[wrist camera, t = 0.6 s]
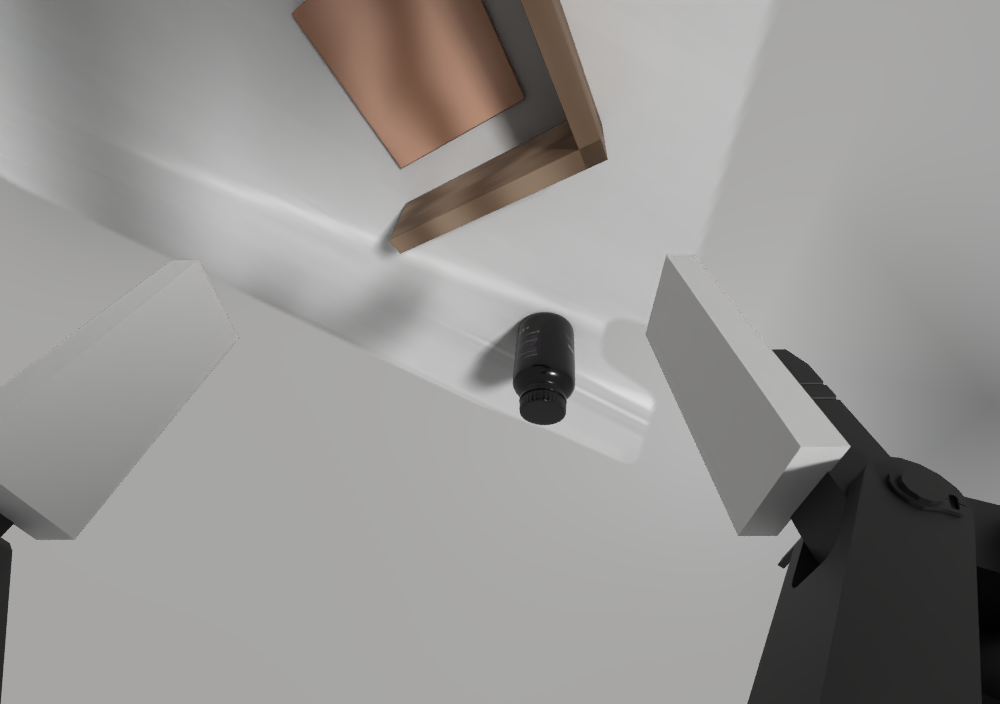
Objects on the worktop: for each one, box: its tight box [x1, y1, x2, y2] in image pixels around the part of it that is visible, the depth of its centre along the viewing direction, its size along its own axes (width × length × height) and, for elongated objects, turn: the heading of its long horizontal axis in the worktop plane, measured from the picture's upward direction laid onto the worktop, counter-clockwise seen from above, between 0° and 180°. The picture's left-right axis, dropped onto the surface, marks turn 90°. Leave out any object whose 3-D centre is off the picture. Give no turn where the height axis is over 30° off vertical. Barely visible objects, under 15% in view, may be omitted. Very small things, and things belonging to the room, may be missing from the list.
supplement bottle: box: [513, 312, 575, 425], centre depth 47 cm, size 7×7×12 cm
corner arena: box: [292, 0, 608, 254], centre depth 28 cm, size 18×18×6 cm
